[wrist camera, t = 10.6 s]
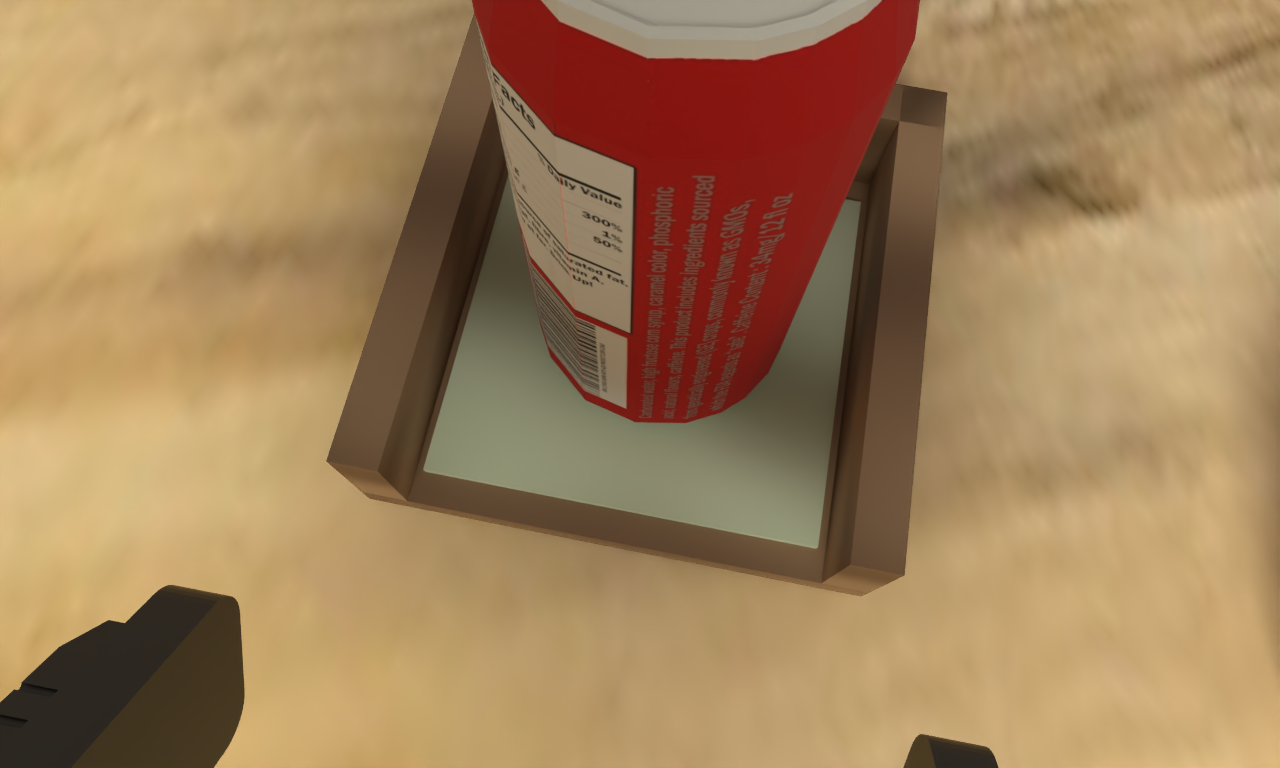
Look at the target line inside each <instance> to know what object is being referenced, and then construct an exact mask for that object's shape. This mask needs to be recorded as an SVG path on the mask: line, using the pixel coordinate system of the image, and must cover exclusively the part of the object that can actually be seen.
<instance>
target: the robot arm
mask: <svg viewBox="0 0 1280 768" xmlns="http://www.w3.org/2000/svg"><path fill="white" fill-rule="evenodd" d="M243 704H244V675H243V658H242V641H241V624H240V610H239V605H238V602H237V601H236V599H235V598H233V597H231V596H226V595H221V594H216V593H211V592H206V591H201V590H196V589H190V588H185V587H180V586H175V585H168V586H165V587H163V588H161V589H160V590H158V591H157V592H156V593H155V594H154V595H153V596H152V597H151V598H150V599H149V600H148V601H147V602H146V603H145V604H144V605H143V606H142V607H141V608H140V609H139V610H138V611H137V612H136V613H135V614H134V615H133V616H132V617H131V618H130V619H129V620H128V621H127V622H126V623H120V622H115V621H110V620H108V621H106V622H104V623H102V624H101V625H99V626H97V627H95V628H93V629H91V630H90V631H88V632H86V633H84V634H82V635H80V636H79V637H77V638H75V639H73V640H71V641H69V642H68V643H66V644H64V645H62V646H60V647H59V648H58V649H57V650H56V651H55V652H53V653H52V654H51V655H50V656H49V657H48V658H47V659H46V660H45V661H44V662H43V663H42V664H41V665H40V666H39V667H38V668H36V669H35V670H34V671H33V672H32V673H31V674H30V675H29V676H28V677H27V678H26V679H25V680H24V681H23V682H22V685H21V687H20V689H19V690H13V691H12V692H11V693H10V694H9V695H8V696H7V697H6V698H5V699H4V700H2V701H1V702H0V768H214V766H215V765H216V764H217V762H218V761H219V759H220V758H221V756H222V755H223V753H224V752H225V750H226V749H227V747H228V746H229V744H230V742H231V740H232V738H233V736H234V734H235V732H236V729H237V727H238V724H239V721H240V718H241V714H242V710H243ZM904 768H998V765H997V762H996V759H995V757H994V755H993V753H992V751H991V750H990V749H989V748H987V747H985V746H980V745H975V744H970V743H965V742H959V741H954V740H949V739H944V738H939V737H934V736H929V735H924V734H920V735H918V736H917V737H916V738H915V740H914V742H913V744H912V746H911V749H910V752H909V754H908V757H907V760H906V762H905V765H904Z"/></svg>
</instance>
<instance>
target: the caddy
mask: <svg viewBox="0 0 1280 768" xmlns="http://www.w3.org/2000/svg"><path fill="white" fill-rule="evenodd" d="M946 102H947V93H946V92H940V91H935V90H929V89H923V88H917V87H911V86H905V85H900V84H895V86H894V88H893V90H892V93H891V95H890V97H889V99H888V102H887V104H886V106H885V109H884V111H883V113H882V116H881V118H880V120H879V122H878V125H877V127H876V129H875V132H874V134H873V136H872V139H871V141H870V143H869V146H868V148H867V150H866V152H865V155H864V157H863V159H862V162H861V164H860V166H859V169H858V171H857V173H856V175H855V178H854V180H853V182H852V185H851V187H850V189H849V192H848V194H847V196H846V198H845V201H844V203H843V205H842V208H841V210H840V212H839V215H838V217H837V219H836V222H835V224H834V226H833V228H832V231H831V233H830V235H829V238H828V240H827V242H826V245H825V247H824V249H823V251H822V254H821V256H820V258H819V261H818V263H817V265H816V268H815V270H814V272H813V275H812V277H811V279H810V281H809V284H808V286H807V288H806V291H805V293H804V295H803V298H802V300H801V302H800V304H799V307H798V309H797V311H796V314H795V316H794V318H793V321H792V323H791V325H790V328H789V330H788V332H787V334H786V337H785V339H784V341H783V344H782V346H781V348H780V350H779V352H778V354H777V356H776V358H775V360H774V362H773V364H772V366H771V368H770V370H769V372H768V374H767V375H766V376H765V377H764V378H763V379H762V380H761V381H760V382H759V383H758V385H757V386H756V387H755V388H754V389H753V390H752V391H751V392H750V393H749V394H748V395H747V396H746V397H745V398H744V399H742V400H741V401H739V402H738V403H736V404H734V405H733V406H731V407H729V408H728V409H726V410H724V411H723V412H721V413H718V414H715V415H712V416H708V417H705V418H701V419H698V420H695V421H691V422H688V423H645V422H633V421H631V420H629V419H627V418H624V417H622V416H620V415H618V414H615V413H613V412H611V411H609V410H606V409H604V408H602V407H600V406H597V405H595V404H593V403H591V402H588V401H586V400H585V399H584V398H583V397H582V395H581V394H580V393H579V392H578V390H577V389H576V388H575V387H574V385H573V384H572V383H571V382H570V380H569V379H568V378H567V377H566V375H565V374H564V373H563V372H562V370H561V369H560V368H559V367H558V365H557V364H556V363H555V362H554V361H553V359H552V358H551V357H550V354H549V351H548V348H547V344H546V341H545V338H544V335H543V332H542V328H541V325H540V321H539V316H538V311H537V307H536V302H535V297H534V292H533V288H532V283H531V278H530V273H529V269H528V264H527V259H526V254H525V250H524V245H523V240H522V235H521V231H520V226H519V221H518V216H517V212H516V207H515V202H514V197H513V193H512V188H511V183H510V179H509V174H508V169H507V164H506V160H505V155H504V150H503V145H502V141H501V136H500V131H499V126H498V122H497V117H496V112H495V107H494V103H493V98H492V93H491V88H490V84H489V79H488V74H487V69H486V65H485V60H484V55H483V51H482V46H481V41H480V36H479V32H478V27H477V22H476V17H475V13H474V15H473V18H472V21H471V24H470V27H469V30H468V33H467V36H466V39H465V42H464V45H463V48H462V52H461V55H460V58H459V61H458V64H457V67H456V70H455V73H454V76H453V79H452V82H451V85H450V88H449V91H448V94H447V97H446V100H445V103H444V106H443V109H442V112H441V115H440V118H439V121H438V124H437V127H436V130H435V133H434V136H433V139H432V142H431V145H430V148H429V151H428V155H427V158H426V161H425V164H424V167H423V170H422V173H421V176H420V179H419V182H418V185H417V188H416V191H415V194H414V197H413V200H412V203H411V206H410V209H409V212H408V215H407V218H406V221H405V224H404V227H403V230H402V233H401V236H400V239H399V242H398V245H397V248H396V251H395V255H394V258H393V261H392V264H391V267H390V270H389V273H388V276H387V279H386V282H385V285H384V288H383V291H382V294H381V297H380V300H379V303H378V306H377V309H376V312H375V315H374V318H373V321H372V324H371V327H370V330H369V333H368V336H367V339H366V342H365V345H364V348H363V351H362V355H361V358H360V361H359V364H358V367H357V370H356V373H355V376H354V379H353V382H352V385H351V388H350V391H349V394H348V397H347V400H346V403H345V406H344V409H343V412H342V415H341V418H340V421H339V424H338V427H337V430H336V433H335V436H334V439H333V442H332V445H331V448H330V451H329V455H328V458H327V462H328V463H329V464H330V465H331V466H332V467H334V468H335V469H336V470H337V471H338V472H339V473H341V474H342V475H343V476H344V477H345V478H346V479H348V480H349V481H350V482H351V483H352V484H353V485H355V486H356V487H357V488H358V489H359V490H360V491H362V492H363V493H364V494H365V495H366V496H367V497H369V498H370V499H375V500H380V501H385V502H390V503H395V504H401V505H406V506H411V507H416V508H421V509H426V510H431V511H436V512H441V513H446V514H451V515H456V516H461V517H466V518H471V519H476V520H481V521H486V522H491V523H496V524H501V525H506V526H511V527H516V528H521V529H526V530H531V531H536V532H541V533H546V534H551V535H556V536H561V537H566V538H571V539H576V540H581V541H586V542H591V543H596V544H601V545H606V546H611V547H616V548H622V549H627V550H632V551H637V552H642V553H647V554H652V555H657V556H662V557H667V558H672V559H677V560H682V561H687V562H692V563H697V564H702V565H707V566H712V567H717V568H722V569H727V570H732V571H737V572H742V573H747V574H752V575H757V576H762V577H767V578H772V579H777V580H782V581H787V582H792V583H797V584H802V585H807V586H812V587H817V588H822V589H827V590H832V591H838V592H843V593H848V594H853V595H858V596H863V595H865V594H867V593H869V592H871V591H873V590H875V589H877V588H879V587H882V586H884V585H886V584H888V583H890V582H892V581H894V580H896V579H898V578H900V577H902V576H904V575H905V564H906V552H907V541H908V530H909V519H910V507H911V496H912V485H913V474H914V462H915V451H916V440H917V429H918V417H919V406H920V395H921V383H922V372H923V361H924V350H925V338H926V327H927V316H928V305H929V293H930V282H931V271H932V260H933V248H934V237H935V226H936V215H937V203H938V192H939V181H940V169H941V158H942V147H943V136H944V124H945V113H946Z"/></svg>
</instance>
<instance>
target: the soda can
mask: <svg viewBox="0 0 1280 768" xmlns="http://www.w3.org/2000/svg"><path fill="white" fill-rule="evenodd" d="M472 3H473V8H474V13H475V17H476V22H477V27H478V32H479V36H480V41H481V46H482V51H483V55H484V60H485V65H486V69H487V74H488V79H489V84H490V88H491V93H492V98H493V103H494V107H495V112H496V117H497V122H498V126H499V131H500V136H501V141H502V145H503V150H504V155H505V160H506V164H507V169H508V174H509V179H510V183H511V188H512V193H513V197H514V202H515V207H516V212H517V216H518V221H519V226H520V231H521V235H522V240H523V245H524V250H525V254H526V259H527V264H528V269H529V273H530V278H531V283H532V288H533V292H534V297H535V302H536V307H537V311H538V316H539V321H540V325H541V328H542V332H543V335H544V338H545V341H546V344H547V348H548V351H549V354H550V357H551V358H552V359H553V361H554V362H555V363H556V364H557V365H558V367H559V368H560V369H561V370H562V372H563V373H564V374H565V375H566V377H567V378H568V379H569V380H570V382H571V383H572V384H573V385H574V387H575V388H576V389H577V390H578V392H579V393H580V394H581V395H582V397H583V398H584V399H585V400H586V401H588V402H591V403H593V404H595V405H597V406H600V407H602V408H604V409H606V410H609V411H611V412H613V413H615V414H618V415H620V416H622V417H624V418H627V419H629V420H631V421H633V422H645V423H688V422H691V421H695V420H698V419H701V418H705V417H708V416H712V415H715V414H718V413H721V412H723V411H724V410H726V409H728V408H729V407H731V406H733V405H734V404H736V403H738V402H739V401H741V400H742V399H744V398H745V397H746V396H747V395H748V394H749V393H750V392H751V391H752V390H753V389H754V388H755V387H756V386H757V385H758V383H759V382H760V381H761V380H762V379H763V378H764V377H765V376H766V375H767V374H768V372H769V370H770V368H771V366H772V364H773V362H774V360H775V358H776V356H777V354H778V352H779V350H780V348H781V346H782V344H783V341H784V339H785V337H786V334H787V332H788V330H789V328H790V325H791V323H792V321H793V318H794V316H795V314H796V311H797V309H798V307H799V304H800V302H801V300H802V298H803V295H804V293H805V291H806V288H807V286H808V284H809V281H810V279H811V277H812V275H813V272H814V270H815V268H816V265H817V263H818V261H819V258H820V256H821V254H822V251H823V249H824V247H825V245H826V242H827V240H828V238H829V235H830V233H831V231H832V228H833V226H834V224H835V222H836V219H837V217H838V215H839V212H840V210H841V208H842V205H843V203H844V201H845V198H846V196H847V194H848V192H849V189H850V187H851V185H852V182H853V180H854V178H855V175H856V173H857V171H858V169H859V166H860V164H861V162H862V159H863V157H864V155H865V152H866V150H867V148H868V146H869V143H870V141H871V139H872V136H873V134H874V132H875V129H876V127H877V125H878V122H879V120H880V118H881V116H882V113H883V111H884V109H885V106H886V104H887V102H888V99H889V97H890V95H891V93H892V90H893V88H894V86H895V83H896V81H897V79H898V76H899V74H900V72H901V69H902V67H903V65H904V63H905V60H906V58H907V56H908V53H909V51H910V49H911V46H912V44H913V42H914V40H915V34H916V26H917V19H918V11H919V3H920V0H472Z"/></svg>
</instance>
